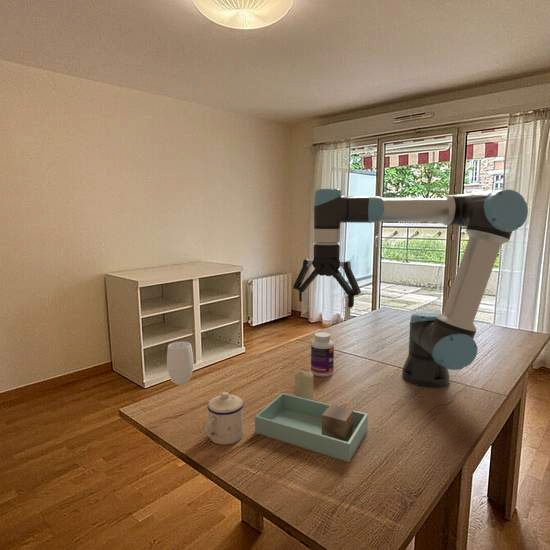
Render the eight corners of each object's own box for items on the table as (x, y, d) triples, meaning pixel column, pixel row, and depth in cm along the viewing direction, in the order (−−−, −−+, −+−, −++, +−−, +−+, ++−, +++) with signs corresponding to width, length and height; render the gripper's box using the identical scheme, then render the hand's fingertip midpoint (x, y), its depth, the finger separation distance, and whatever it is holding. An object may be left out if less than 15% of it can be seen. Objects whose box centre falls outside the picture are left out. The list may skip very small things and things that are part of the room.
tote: (367, 431, 101) (368, 413, 101) (349, 464, 88) (349, 444, 87) (282, 408, 113) (282, 392, 113) (255, 434, 100) (254, 416, 100)
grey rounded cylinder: (182, 424, 105) (179, 351, 102) (163, 416, 109) (160, 346, 106) (200, 412, 111) (198, 343, 108) (182, 406, 115) (179, 339, 112)
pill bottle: (332, 378, 134) (333, 338, 132) (309, 376, 135) (310, 337, 133) (333, 369, 142) (334, 331, 139) (312, 367, 143) (312, 330, 141)
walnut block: (352, 435, 99) (353, 410, 97) (344, 448, 93) (345, 421, 92) (330, 429, 101) (330, 404, 100) (321, 441, 96) (321, 414, 95)
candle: (301, 407, 114) (301, 375, 113) (291, 399, 119) (291, 368, 118) (316, 402, 117) (317, 371, 115) (306, 395, 122) (307, 365, 120)
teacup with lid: (224, 422, 106) (223, 382, 104) (250, 432, 101) (250, 390, 99) (192, 444, 96) (190, 400, 94) (220, 456, 91) (219, 410, 89)
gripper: (373, 244, 109) (370, 317, 112) (293, 241, 121) (293, 307, 124) (365, 246, 102) (362, 324, 105) (282, 243, 114) (282, 312, 118)
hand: (325, 315), depth 115 cm, fingers open, 13 cm apart
